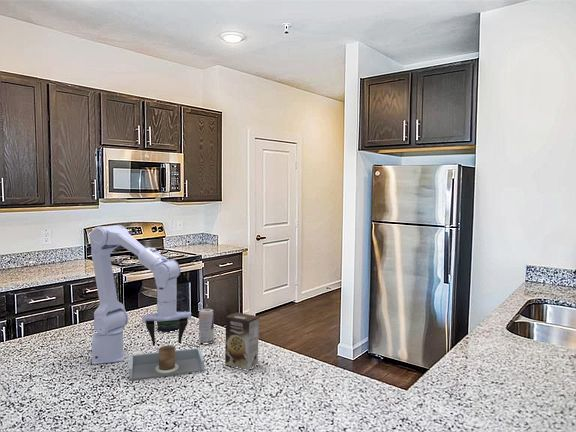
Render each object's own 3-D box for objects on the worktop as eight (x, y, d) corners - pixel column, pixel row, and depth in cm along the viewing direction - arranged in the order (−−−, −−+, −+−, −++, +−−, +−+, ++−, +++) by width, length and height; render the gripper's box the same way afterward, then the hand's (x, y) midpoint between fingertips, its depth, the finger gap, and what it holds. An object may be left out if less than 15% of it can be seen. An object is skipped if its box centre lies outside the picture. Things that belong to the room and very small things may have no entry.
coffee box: (224, 365, 133) (224, 316, 132) (235, 359, 138) (236, 311, 138) (248, 372, 128) (248, 320, 128) (259, 364, 134) (259, 315, 133)
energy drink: (215, 340, 156) (215, 308, 155) (211, 345, 150) (211, 312, 150) (201, 339, 156) (201, 308, 156) (196, 344, 151) (197, 312, 150)
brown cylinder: (159, 371, 126) (159, 352, 125) (158, 365, 130) (158, 346, 130) (175, 369, 127) (175, 350, 127) (174, 363, 132) (174, 344, 131)
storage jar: (155, 326, 171) (155, 290, 170) (179, 323, 175) (179, 288, 174) (158, 333, 162) (158, 296, 161) (184, 330, 166) (184, 294, 165)
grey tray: (129, 381, 121) (129, 369, 121) (130, 366, 131) (130, 355, 131) (204, 371, 128) (204, 360, 128) (199, 358, 138) (199, 347, 138)
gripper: (141, 305, 122) (142, 350, 122) (192, 301, 126) (192, 345, 127) (142, 299, 128) (142, 342, 129) (189, 296, 133) (189, 337, 134)
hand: (166, 343), depth 128 cm, fingers open, 7 cm apart
